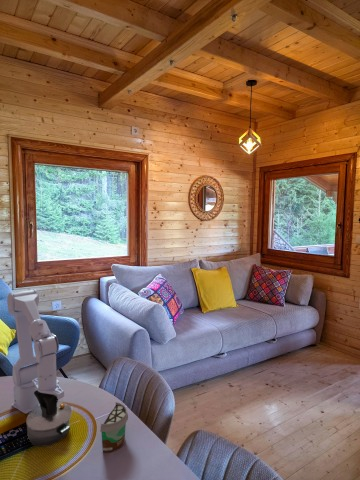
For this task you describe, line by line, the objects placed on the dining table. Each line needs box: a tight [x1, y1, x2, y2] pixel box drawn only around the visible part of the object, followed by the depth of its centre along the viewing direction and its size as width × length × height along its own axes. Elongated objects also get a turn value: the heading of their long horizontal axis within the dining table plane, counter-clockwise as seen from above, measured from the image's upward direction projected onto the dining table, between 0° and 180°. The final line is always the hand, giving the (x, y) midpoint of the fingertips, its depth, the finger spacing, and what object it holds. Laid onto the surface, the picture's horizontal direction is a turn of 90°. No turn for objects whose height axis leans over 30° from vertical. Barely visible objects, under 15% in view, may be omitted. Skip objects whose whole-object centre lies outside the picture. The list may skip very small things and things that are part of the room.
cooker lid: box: [25, 401, 73, 432], centre depth 106 cm, size 14×14×4 cm
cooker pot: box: [26, 411, 71, 447], centre depth 106 cm, size 18×13×5 cm
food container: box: [99, 401, 129, 454], centre depth 101 cm, size 12×6×10 cm, turn 168°
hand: (48, 411), depth 106 cm, fingers open, 3 cm apart
